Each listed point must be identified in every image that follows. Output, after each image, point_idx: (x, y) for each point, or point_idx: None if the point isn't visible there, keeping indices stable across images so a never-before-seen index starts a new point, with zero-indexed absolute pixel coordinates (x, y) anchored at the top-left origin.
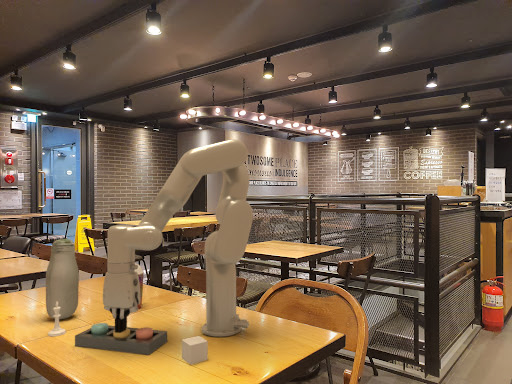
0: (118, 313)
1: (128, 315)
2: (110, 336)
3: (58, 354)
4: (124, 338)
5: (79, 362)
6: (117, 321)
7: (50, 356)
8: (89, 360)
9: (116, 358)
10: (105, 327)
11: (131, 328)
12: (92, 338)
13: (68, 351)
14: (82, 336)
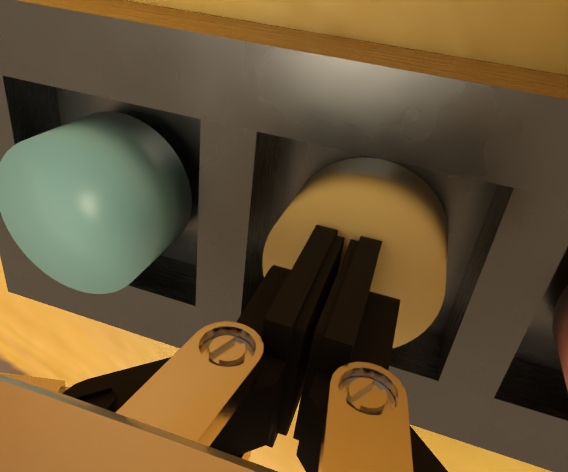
0: (232, 429)
1: (401, 392)
2: (254, 256)
3: (76, 353)
4: (442, 388)
5: (250, 453)
6: (292, 416)
7: (61, 370)
8: (288, 443)
9: (445, 448)
10: (149, 254)
11: (404, 101)
12: (158, 335)
13: (92, 322)
14: (68, 309)
